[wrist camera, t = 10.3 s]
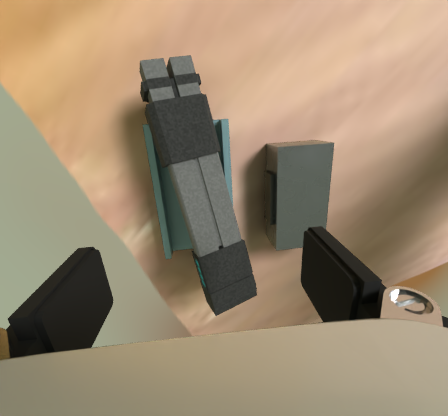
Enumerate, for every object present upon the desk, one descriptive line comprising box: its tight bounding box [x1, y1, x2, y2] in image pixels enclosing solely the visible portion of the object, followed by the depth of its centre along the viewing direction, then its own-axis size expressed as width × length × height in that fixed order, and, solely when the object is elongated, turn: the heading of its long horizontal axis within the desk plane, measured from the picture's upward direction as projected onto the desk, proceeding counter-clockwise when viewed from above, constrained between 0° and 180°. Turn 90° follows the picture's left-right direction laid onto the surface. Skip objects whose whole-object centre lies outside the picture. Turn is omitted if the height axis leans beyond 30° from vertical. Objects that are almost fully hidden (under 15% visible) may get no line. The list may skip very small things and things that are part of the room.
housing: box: [265, 140, 334, 250], centre depth 23 cm, size 5×10×4 cm, turn 4°
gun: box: [140, 55, 257, 316], centre depth 21 cm, size 4×20×10 cm, turn 17°
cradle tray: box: [143, 119, 233, 259], centre depth 23 cm, size 7×13×2 cm, turn 4°
